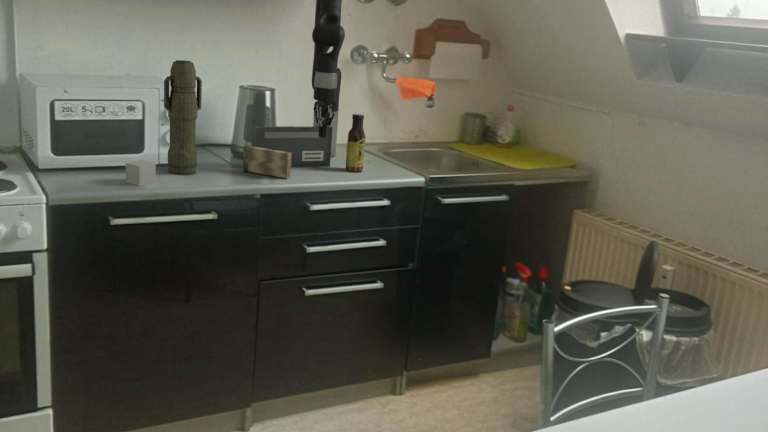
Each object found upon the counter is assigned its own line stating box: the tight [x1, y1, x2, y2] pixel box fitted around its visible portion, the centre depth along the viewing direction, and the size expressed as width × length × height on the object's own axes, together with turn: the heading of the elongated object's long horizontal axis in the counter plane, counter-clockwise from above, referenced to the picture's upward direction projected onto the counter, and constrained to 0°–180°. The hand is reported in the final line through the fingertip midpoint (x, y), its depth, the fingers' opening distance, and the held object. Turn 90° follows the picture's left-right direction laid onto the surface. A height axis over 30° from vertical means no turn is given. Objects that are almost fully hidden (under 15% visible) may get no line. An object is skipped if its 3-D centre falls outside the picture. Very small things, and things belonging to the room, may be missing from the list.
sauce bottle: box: [345, 113, 366, 173], centre depth 257 cm, size 7×6×20 cm
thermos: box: [163, 59, 203, 176], centre depth 231 cm, size 9×12×35 cm
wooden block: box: [242, 145, 292, 179], centre depth 240 cm, size 17×3×8 cm, turn 68°
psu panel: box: [252, 125, 332, 168], centre depth 255 cm, size 3×28×14 cm, turn 118°
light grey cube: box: [125, 159, 157, 187], centre depth 218 cm, size 6×6×6 cm
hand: (322, 137), depth 250 cm, fingers closed
